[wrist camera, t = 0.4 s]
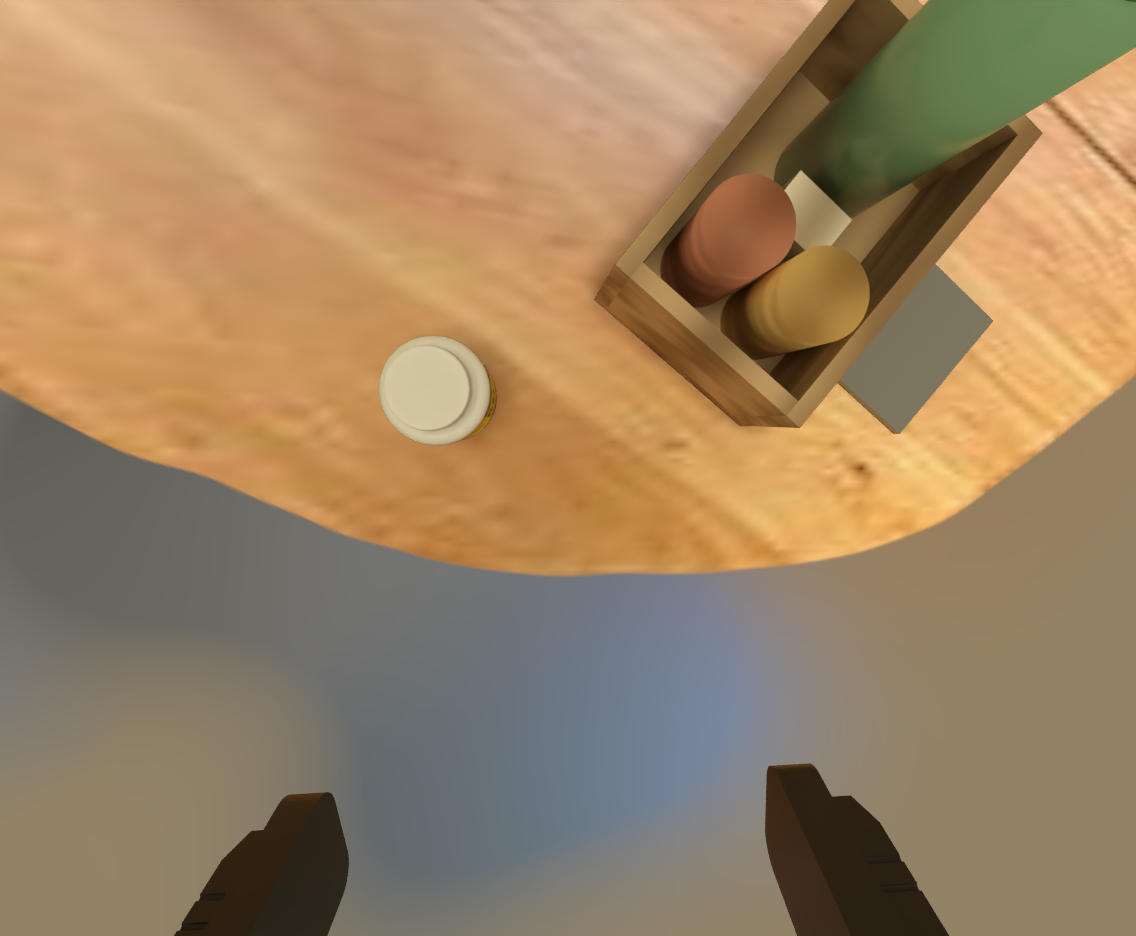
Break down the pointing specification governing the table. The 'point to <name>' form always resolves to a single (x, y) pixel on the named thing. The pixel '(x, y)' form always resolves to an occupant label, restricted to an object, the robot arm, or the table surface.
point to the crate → (793, 239)
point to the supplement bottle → (436, 391)
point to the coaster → (915, 350)
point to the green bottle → (951, 89)
